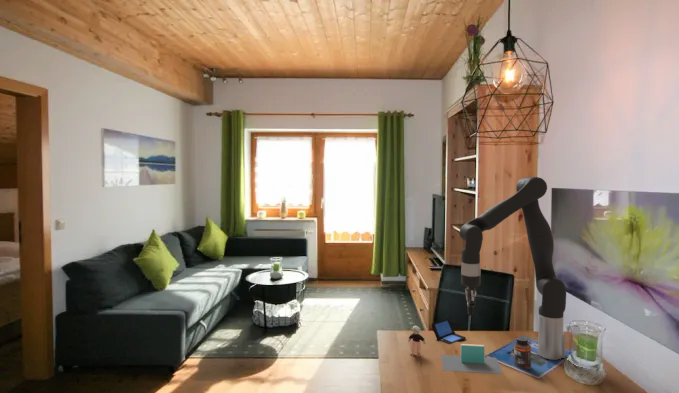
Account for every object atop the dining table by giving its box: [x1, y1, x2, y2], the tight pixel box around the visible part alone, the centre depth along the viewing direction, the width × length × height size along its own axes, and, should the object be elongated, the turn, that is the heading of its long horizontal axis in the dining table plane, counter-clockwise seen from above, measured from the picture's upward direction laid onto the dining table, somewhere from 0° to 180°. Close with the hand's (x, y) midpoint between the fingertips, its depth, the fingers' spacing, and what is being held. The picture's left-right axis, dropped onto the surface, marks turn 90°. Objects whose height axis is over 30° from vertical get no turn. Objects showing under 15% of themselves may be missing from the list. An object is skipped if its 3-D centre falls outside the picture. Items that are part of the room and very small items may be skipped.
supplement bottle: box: [513, 336, 532, 370], centre depth 164 cm, size 6×6×11 cm
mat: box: [440, 354, 504, 375], centre depth 166 cm, size 22×14×1 cm, turn 80°
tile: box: [460, 343, 485, 364], centre depth 167 cm, size 9×2×7 cm, turn 80°
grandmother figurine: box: [407, 325, 426, 358], centre depth 176 cm, size 8×4×13 cm, turn 73°
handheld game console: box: [431, 318, 466, 345], centre depth 192 cm, size 12×11×7 cm
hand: (470, 314), depth 171 cm, fingers closed
